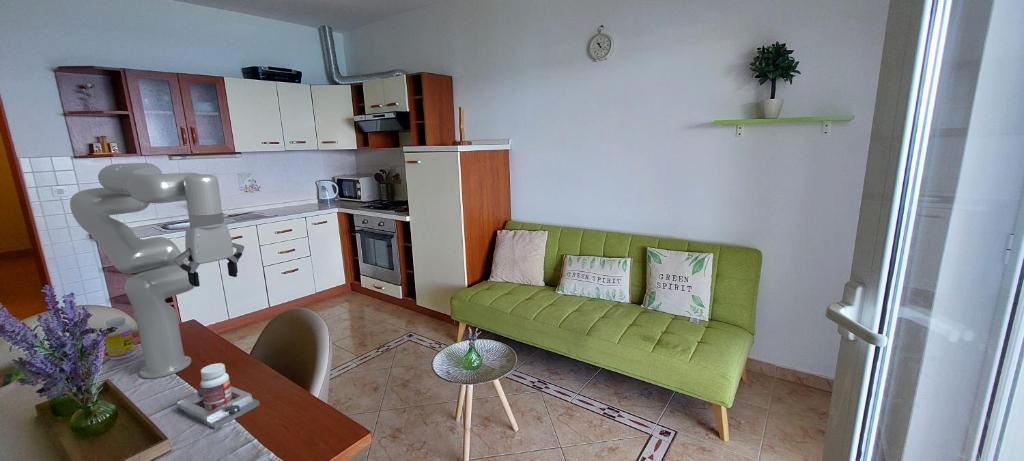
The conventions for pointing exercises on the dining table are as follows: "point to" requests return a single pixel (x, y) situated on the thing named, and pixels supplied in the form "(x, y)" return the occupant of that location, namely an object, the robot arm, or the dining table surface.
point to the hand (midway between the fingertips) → (214, 280)
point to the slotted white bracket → (220, 415)
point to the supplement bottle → (119, 339)
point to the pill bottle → (215, 386)
